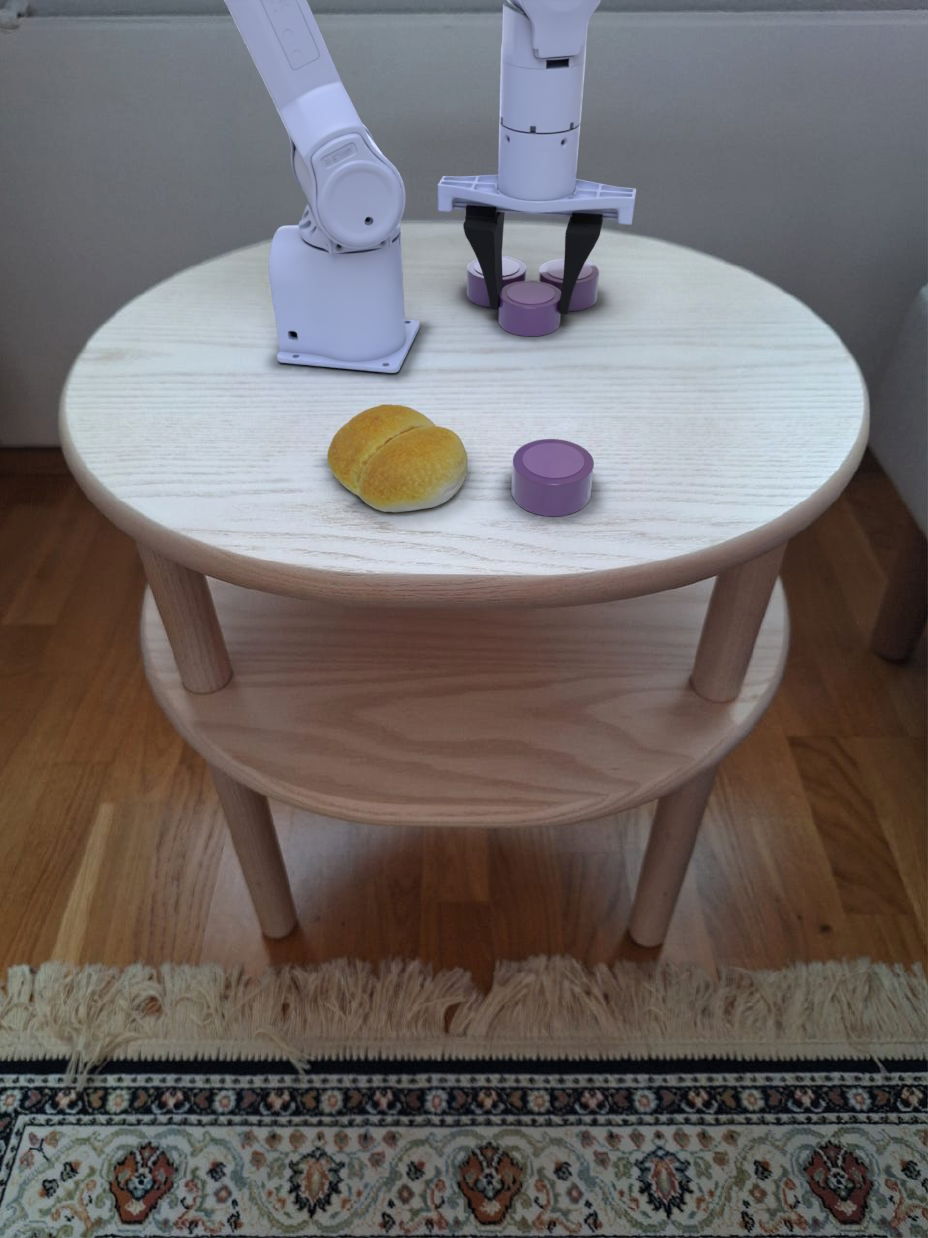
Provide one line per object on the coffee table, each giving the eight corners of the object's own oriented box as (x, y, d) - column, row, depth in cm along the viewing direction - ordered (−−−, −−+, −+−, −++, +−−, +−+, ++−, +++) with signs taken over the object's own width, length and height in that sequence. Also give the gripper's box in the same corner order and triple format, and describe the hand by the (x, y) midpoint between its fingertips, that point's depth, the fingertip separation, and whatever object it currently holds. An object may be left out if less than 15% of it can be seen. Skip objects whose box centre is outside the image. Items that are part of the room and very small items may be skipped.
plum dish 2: (533, 308, 79) (535, 279, 77) (541, 283, 82) (543, 254, 81) (594, 313, 78) (596, 284, 76) (599, 287, 82) (601, 259, 80)
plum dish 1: (493, 333, 76) (494, 304, 74) (503, 305, 79) (504, 277, 77) (556, 339, 75) (558, 309, 73) (563, 311, 78) (565, 282, 77)
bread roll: (399, 535, 57) (395, 480, 54) (310, 472, 62) (303, 419, 59) (497, 480, 61) (498, 426, 58) (407, 425, 66) (404, 373, 63)
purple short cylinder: (461, 305, 79) (461, 276, 78) (472, 280, 83) (472, 252, 81) (521, 310, 79) (522, 281, 77) (529, 284, 82) (530, 256, 80)
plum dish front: (505, 511, 59) (506, 478, 57) (517, 466, 62) (518, 433, 60) (586, 520, 58) (590, 487, 56) (593, 474, 61) (597, 441, 60)
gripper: (646, 110, 69) (624, 291, 78) (449, 99, 71) (451, 277, 80) (641, 141, 64) (618, 330, 73) (429, 128, 66) (434, 314, 75)
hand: (530, 305), depth 76 cm, fingers closed on plum dish 1, 5 cm apart
